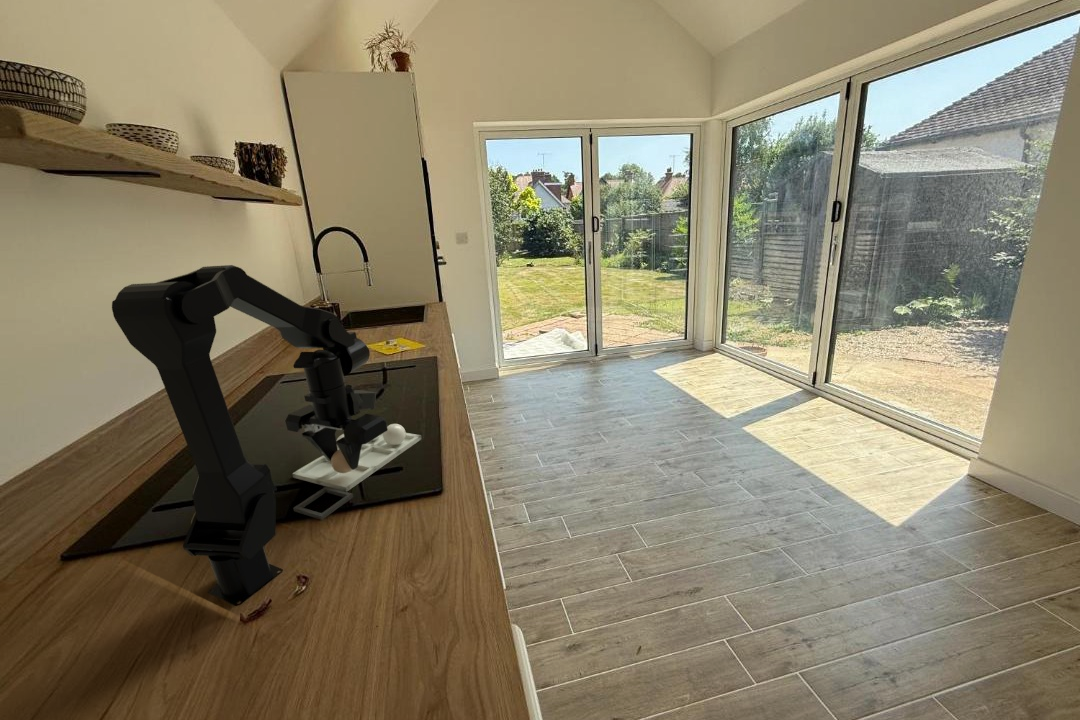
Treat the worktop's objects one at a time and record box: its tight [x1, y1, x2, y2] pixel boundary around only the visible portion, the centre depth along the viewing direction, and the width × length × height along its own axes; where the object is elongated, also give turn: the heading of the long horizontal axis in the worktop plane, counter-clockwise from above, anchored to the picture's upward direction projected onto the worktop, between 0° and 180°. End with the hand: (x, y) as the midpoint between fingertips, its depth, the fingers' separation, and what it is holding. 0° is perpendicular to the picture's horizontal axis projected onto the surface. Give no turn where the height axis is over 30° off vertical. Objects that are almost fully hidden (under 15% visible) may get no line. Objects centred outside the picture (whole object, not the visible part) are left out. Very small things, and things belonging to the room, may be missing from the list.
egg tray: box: [291, 432, 422, 492], centre depth 91 cm, size 14×20×2 cm
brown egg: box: [331, 449, 352, 473], centre depth 83 cm, size 4×4×4 cm
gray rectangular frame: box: [293, 486, 354, 521], centre depth 76 cm, size 6×6×1 cm
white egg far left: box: [383, 423, 407, 446], centre depth 94 cm, size 4×4×4 cm
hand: (345, 466), depth 83 cm, fingers closed on brown egg, 4 cm apart
